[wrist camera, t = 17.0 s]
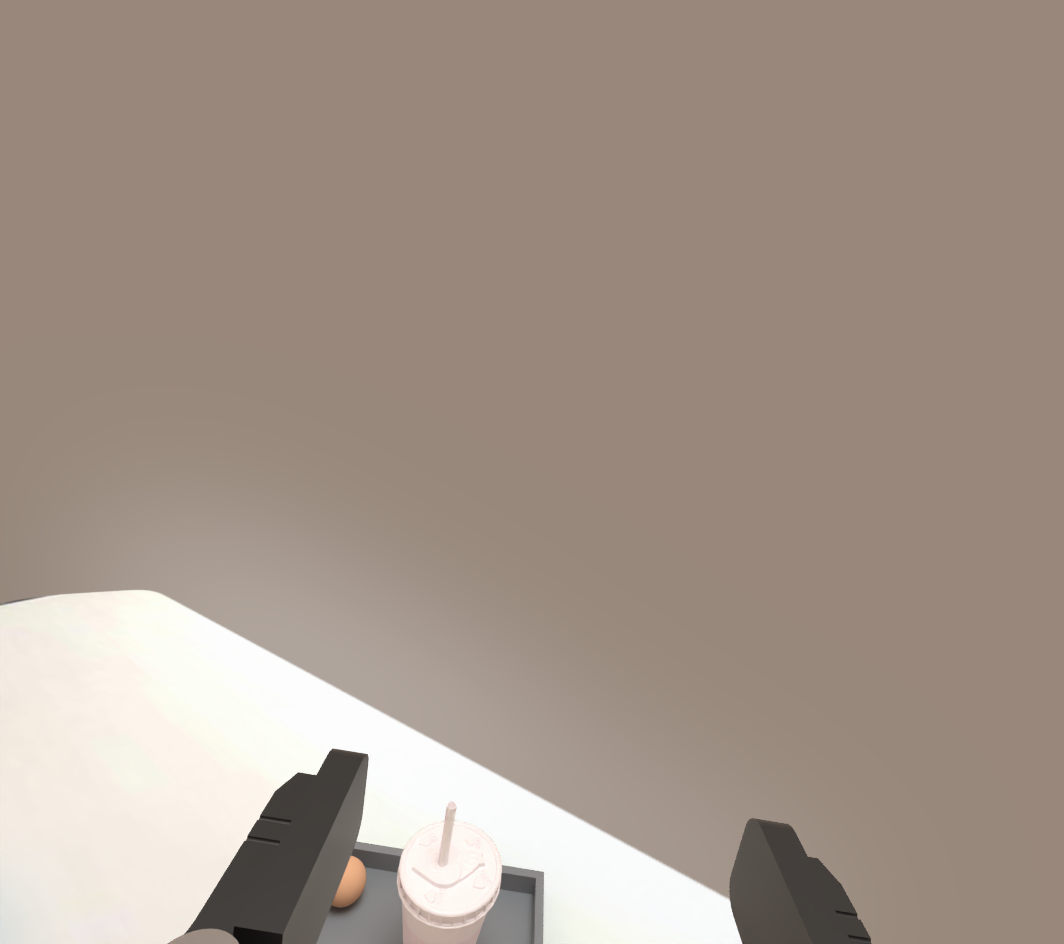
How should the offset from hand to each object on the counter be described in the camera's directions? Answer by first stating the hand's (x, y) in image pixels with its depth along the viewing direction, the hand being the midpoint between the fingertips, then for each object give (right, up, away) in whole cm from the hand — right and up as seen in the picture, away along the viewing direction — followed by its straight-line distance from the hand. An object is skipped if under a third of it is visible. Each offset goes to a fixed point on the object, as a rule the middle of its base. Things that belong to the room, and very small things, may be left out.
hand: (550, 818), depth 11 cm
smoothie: (-7, -26, +24) cm, 36 cm away
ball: (-14, -24, +28) cm, 40 cm away
